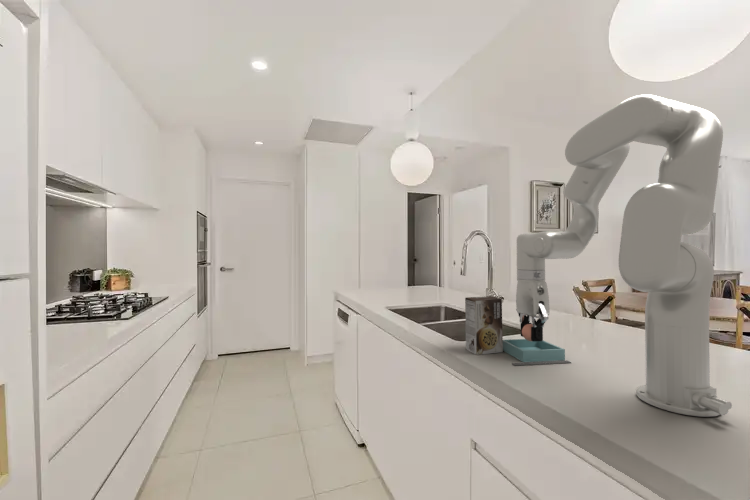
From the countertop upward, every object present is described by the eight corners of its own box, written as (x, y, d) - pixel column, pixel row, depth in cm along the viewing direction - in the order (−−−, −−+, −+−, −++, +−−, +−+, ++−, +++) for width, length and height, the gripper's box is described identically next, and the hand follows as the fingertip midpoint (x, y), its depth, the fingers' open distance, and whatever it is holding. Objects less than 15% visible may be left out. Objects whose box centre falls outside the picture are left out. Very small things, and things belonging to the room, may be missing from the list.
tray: (564, 360, 94) (564, 349, 94) (523, 362, 93) (523, 351, 93) (538, 348, 106) (538, 338, 106) (501, 349, 105) (501, 339, 105)
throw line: (571, 363, 91) (571, 362, 91) (514, 366, 90) (514, 364, 90) (567, 361, 93) (567, 360, 93) (511, 364, 91) (511, 363, 91)
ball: (544, 343, 97) (544, 325, 97) (528, 343, 97) (527, 325, 97) (534, 338, 102) (534, 321, 102) (518, 339, 102) (518, 322, 102)
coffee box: (490, 347, 108) (490, 295, 108) (503, 352, 102) (503, 298, 102) (464, 349, 105) (464, 296, 106) (476, 355, 99) (475, 299, 99)
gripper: (562, 277, 92) (562, 346, 91) (526, 274, 108) (527, 331, 108) (535, 278, 91) (536, 347, 91) (504, 274, 108) (504, 332, 107)
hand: (531, 338), depth 99 cm, fingers closed on ball, 4 cm apart
